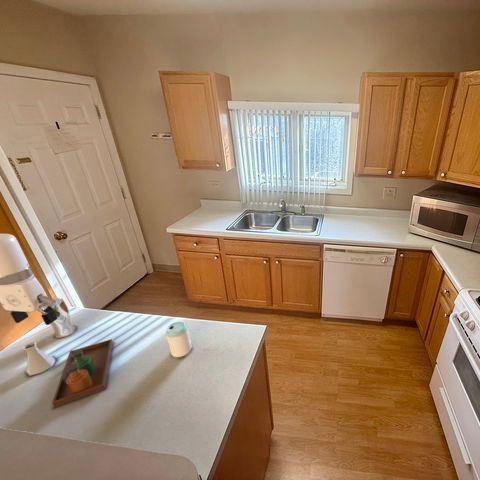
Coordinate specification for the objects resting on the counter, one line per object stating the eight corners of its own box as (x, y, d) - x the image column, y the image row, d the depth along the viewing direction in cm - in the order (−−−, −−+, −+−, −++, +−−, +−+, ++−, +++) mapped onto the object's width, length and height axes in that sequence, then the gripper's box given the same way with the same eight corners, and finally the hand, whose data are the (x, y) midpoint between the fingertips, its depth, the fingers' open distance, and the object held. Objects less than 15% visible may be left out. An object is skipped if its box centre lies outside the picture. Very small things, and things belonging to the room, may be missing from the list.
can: (174, 361, 93) (167, 337, 89) (169, 349, 98) (162, 325, 93) (194, 351, 98) (189, 327, 93) (188, 340, 102) (183, 317, 98)
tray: (105, 389, 83) (103, 384, 82) (54, 407, 77) (51, 403, 76) (113, 342, 100) (111, 339, 99) (72, 355, 94) (70, 351, 93)
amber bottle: (69, 397, 79) (58, 377, 75) (73, 384, 83) (63, 364, 79) (91, 390, 82) (81, 369, 78) (94, 377, 86) (84, 357, 82)
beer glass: (66, 339, 101) (51, 309, 95) (48, 338, 101) (32, 308, 95) (81, 326, 107) (68, 297, 101) (65, 325, 107) (51, 296, 101)
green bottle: (74, 381, 84) (64, 361, 80) (78, 369, 88) (68, 349, 84) (94, 374, 87) (85, 354, 83) (97, 363, 91) (88, 344, 87)
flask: (55, 354, 94) (44, 334, 90) (56, 367, 89) (44, 346, 85) (27, 366, 89) (14, 345, 85) (26, 379, 85) (12, 358, 81)
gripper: (-32, 280, 71) (-3, 327, 78) (27, 284, 71) (51, 331, 78) (0, 267, 78) (24, 311, 85) (54, 270, 77) (74, 314, 84)
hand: (37, 320), depth 81 cm, fingers open, 9 cm apart
